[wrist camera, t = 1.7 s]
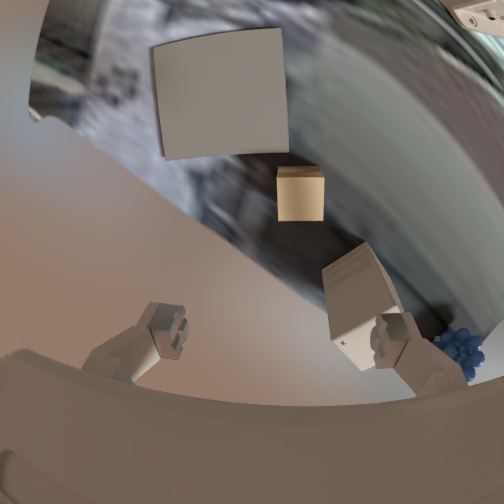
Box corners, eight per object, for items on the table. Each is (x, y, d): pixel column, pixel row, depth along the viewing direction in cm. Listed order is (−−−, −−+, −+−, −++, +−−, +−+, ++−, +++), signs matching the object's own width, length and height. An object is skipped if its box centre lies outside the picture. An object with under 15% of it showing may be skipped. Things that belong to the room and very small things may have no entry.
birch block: (318, 165, 29) (324, 177, 25) (318, 203, 31) (322, 220, 27) (278, 166, 30) (276, 177, 26) (279, 203, 32) (278, 221, 28)
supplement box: (346, 302, 38) (359, 373, 27) (319, 268, 36) (328, 341, 25) (390, 277, 35) (418, 345, 24) (367, 238, 33) (396, 305, 22)
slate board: (281, 30, 22) (281, 28, 21) (289, 150, 29) (289, 152, 28) (157, 49, 24) (153, 47, 23) (168, 159, 31) (165, 160, 30)
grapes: (459, 302, 36) (487, 355, 26) (471, 318, 37) (496, 367, 27) (408, 343, 41) (425, 398, 31) (424, 355, 43) (440, 406, 33)
